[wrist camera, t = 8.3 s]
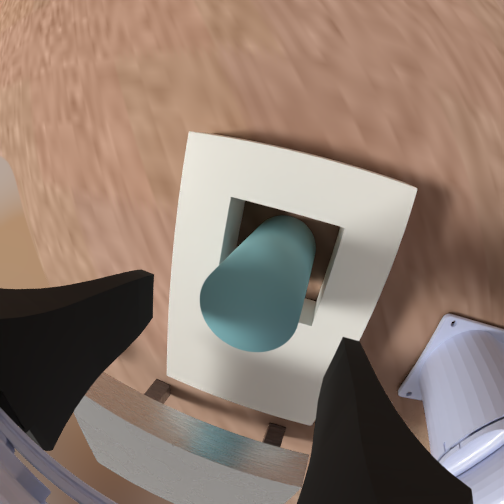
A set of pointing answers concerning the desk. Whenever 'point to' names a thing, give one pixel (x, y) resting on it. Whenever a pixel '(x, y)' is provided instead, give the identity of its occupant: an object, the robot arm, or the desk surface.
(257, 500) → the grey small table
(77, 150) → the desk surface
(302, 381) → the socket block
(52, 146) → the desk surface
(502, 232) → the desk surface
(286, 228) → the peg
